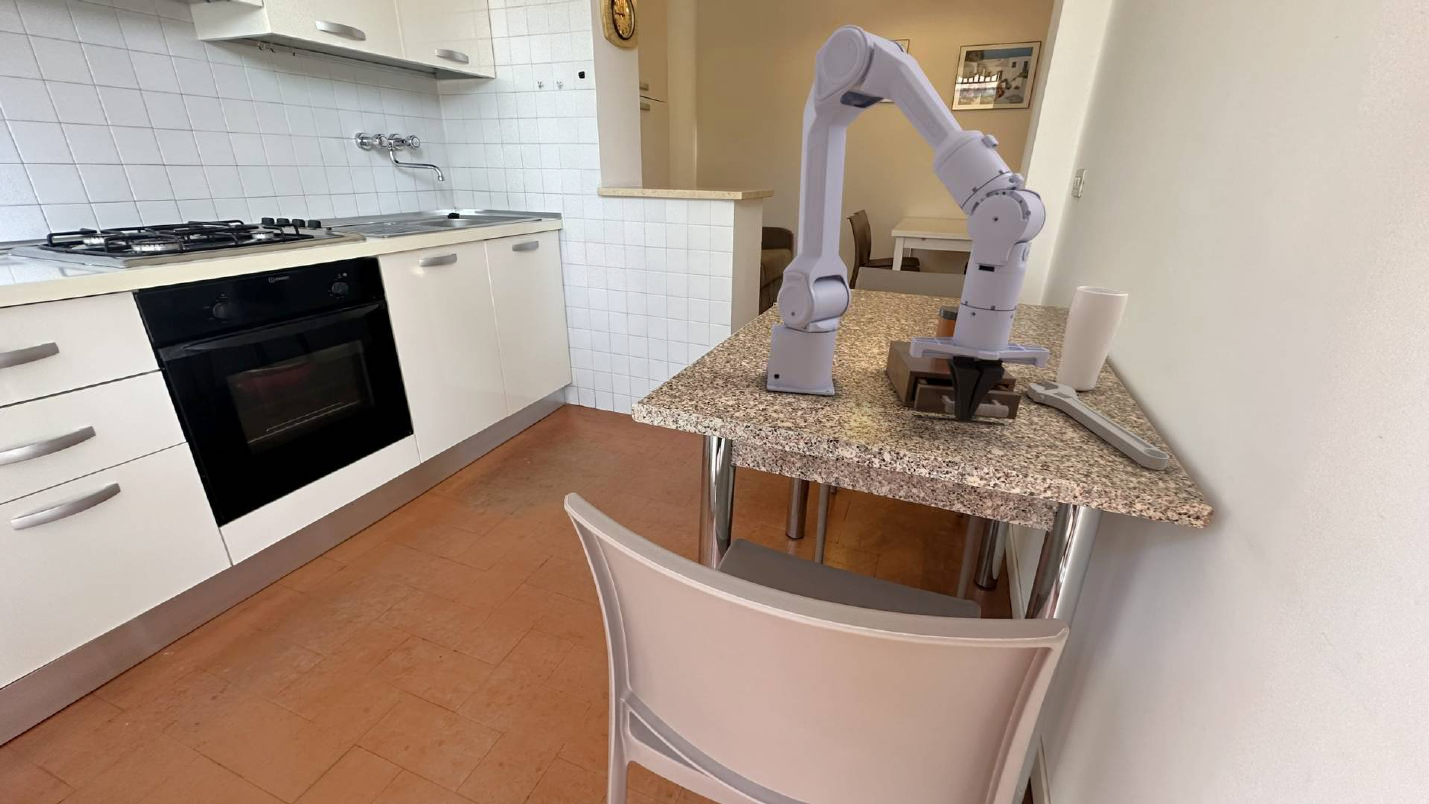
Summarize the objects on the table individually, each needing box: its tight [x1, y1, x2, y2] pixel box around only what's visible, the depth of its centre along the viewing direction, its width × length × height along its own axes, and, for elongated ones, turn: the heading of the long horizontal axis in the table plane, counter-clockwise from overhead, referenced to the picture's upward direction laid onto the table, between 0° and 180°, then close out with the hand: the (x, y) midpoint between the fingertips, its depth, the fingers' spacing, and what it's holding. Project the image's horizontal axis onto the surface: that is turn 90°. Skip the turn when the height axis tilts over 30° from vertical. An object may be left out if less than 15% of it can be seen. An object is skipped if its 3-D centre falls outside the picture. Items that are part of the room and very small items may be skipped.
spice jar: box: [934, 305, 959, 361], centre depth 81 cm, size 4×4×7 cm
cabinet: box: [885, 340, 1018, 408], centre depth 83 cm, size 16×14×5 cm
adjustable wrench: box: [1026, 380, 1170, 471], centre depth 74 cm, size 25×6×2 cm, turn 176°
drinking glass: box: [1055, 285, 1130, 392], centre depth 86 cm, size 7×7×15 cm
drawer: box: [912, 377, 1022, 420], centre depth 77 cm, size 18×12×3 cm
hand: (962, 418), depth 68 cm, fingers closed, pressing on drawer
